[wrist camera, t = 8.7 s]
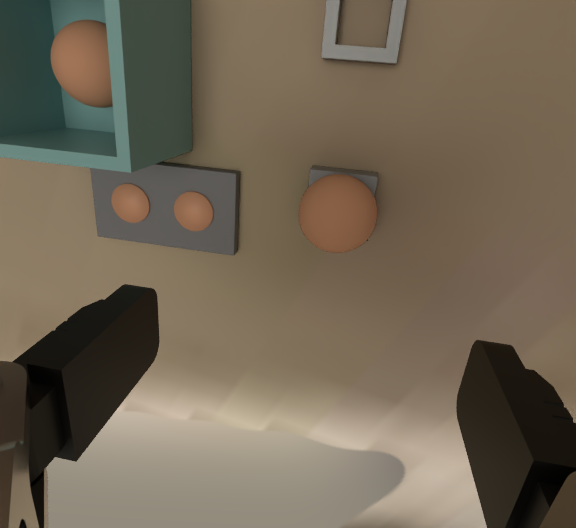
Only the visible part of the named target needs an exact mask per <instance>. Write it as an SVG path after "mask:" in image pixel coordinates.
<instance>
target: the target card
mask: <svg viewBox="0 0 576 528" xmlns="http://www.w3.org/2000/svg"><path fill="white" fill-rule="evenodd" d="M90 169H91V178H92V188H93V197H94V206H95V215H96V225H97V234H98V236H100V237H107V238H114V239H121V240H128V241H135V242H142V243H149V244H156V245H163V246H170V247H177V248H184V249H191V250H198V251H205V252H212V253H219V254H226V255H235V253H236V252H237V249H238V218H239V187H240V171H233V170H224V169H216V168H207V167H198V166H190V165H181V164H172V163H164V162H159V163H156V164H153V165H151V166H148V167H145V168H143V169H140V170H137V171H134V172H132V173H129V172H121V171H113V170H104V169H96V168H90Z"/></svg>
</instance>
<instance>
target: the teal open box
mask: <svg viewBox="0 0 576 528" xmlns="http://www.w3.org/2000/svg"><path fill="white" fill-rule="evenodd" d="M78 20H96V21H100V22H103V23H105V24H106V29H107V41H108V53H109V65H110V77H111V90H112V102H113V106H112V107H107V108H97V107H92V106H88V105H85V104H83V103H81V102H79V101H77V100H76V99H74V98H73V97H71V96H70V95H69V94H68V93H67V92H66V91H65V90H64V89H63V88H62V87H61V85H60V84H59V82H58V80H57V79H56V77H55V74H54V72H53V69H52V65H51V47H52V44H53V41H54V39H55V37H56V35H57V34H58V32H59V31H60V30H61V29H62V28H63V27H65V26H66V25H68V24H70V23H72V22H74V21H78ZM189 151H192V83H191V1H190V0H0V157H4V158H12V159H21V160H29V161H37V162H46V163H54V164H63V165H71V166H79V167H88V168H96V169H104V170H113V171H121V172H129V173H132V172H134V171H137V170H140V169H143V168H145V167H148V166H151V165H153V164H156V163H159V162H162V161H164V160H167V159H170V158H173V157H175V156H178V155H181V154H184V153H186V152H189Z"/></svg>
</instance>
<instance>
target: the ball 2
mask: <svg viewBox="0 0 576 528" xmlns="http://www.w3.org/2000/svg"><path fill="white" fill-rule="evenodd" d="M376 221H377V205H376V202H375V198H374V196H373V194H372V192H371V191H370V189H369V188H368V187H367V186H366V185H365V184H364V183H363V182H361V181H360V180H358V179H356V178H354V177H352V176H349V175H344V174H332V175H328V176H325V177H322V178H320V179H318V180H317V181H315V182H314V183H313V184H312V185H311V186H310V187H309V188H308V189H307V190H306V192H305V193H304V195H303V197H302V199H301V202H300V205H299V222H300V226H301V229H302V231H303V233H304V235H305V236H306V238H307V239H308V240H309V241H310V242H311V243H312V244H313V245H315V246H316V247H318V248H320V249H322V250H324V251H327V252H332V253H342V252H347V251H351V250H353V249H355V248H357V247H359V246H360V245H362V244H363V243H364V242H365V241H366V240H367V239H368V238H369V236H370V235H371V233H372V232H373V230H374V227H375V225H376Z"/></svg>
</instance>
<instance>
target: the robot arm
mask: <svg viewBox="0 0 576 528" xmlns="http://www.w3.org/2000/svg"><path fill="white" fill-rule="evenodd" d="M158 347H159V323H158V302H157V294H156V291H155V290H154V289H152V288H146V287H140V286H134V285H127V284H125V285H122V286H121V287H120V288H119V289H117V290H116V291H115V292H114V293H112V294H111V295H110V296H109V297H108V298H106V299H105V300H102V299H101V300H99V301H97V302H94V303H92V304H90V305H87V306H85V307H83V308H81V309H80V310H78V311H77V312H76V313H75V314H73V315H72V316H71V317H69V318H68V320H67V321H64V322H63V323H62V324H60V325H59V326H58V327H57V328H56V330H55V331H51V332H50V333H49V334H48V335H46V336H45V337H44V338H42V339H41V340H40V341H39V342H37V343H36V344H35V345H33V346H32V347H31V348H30V349H28V350H27V351H26V352H24V353H23V354H22V355H20V356H19V357H18V358H17V359H15V360H14V361H13V362H8V361H0V528H48V476H47V471H46V467H47V466H48V464H49V463H50V462H51V461H52V460H53V458H54V457H58V458H62V459H67V460H72V461H77V460H78V458H79V457H80V456H81V455H82V453H83V452H84V451H85V450H86V448H87V447H88V446H89V444H90V443H91V442H92V440H93V439H94V438H95V437H96V435H97V434H98V433H99V431H100V430H101V429H102V428H103V426H104V425H105V424H106V423H107V421H108V420H109V419H110V417H111V416H112V415H113V413H114V412H115V411H116V410H117V408H118V407H119V406H120V404H121V403H122V402H123V401H124V399H125V398H126V397H127V395H128V394H129V393H130V392H131V390H132V389H133V388H134V386H135V385H136V384H137V383H138V381H139V380H140V379H141V377H142V376H143V375H144V373H145V372H146V371H147V370H148V368H149V367H150V366H151V364H152V363H153V361H154V360H155V357H156V355H157V352H158ZM457 418H458V422H459V426H460V430H461V433H462V437H463V441H464V444H465V448H466V452H467V455H468V459H469V463H470V466H471V470H472V474H473V477H474V481H475V485H476V488H477V492H478V496H479V499H480V503H481V507H482V510H483V514H484V518H485V521H486V525H487V528H576V423H573V418H572V416H571V415H570V413H569V412H568V410H567V408H565V407H564V403H563V402H562V400H561V399H560V397H559V395H558V394H557V392H556V391H555V389H554V387H553V386H552V385H551V384H549V383H548V382H547V381H546V380H545V379H544V378H542V377H541V376H540V375H539V374H538V373H537V372H536V371H534V370H529V369H525V367H524V365H523V364H522V362H521V360H520V358H519V356H518V355H517V353H516V351H515V349H514V348H513V347H512V346H511V345H507V344H500V343H494V342H487V341H481V340H477V341H475V342H474V344H473V346H472V348H471V352H470V355H469V358H468V362H467V365H466V368H465V372H464V375H463V378H462V381H461V385H460V388H459V392H458V396H457Z"/></svg>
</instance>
